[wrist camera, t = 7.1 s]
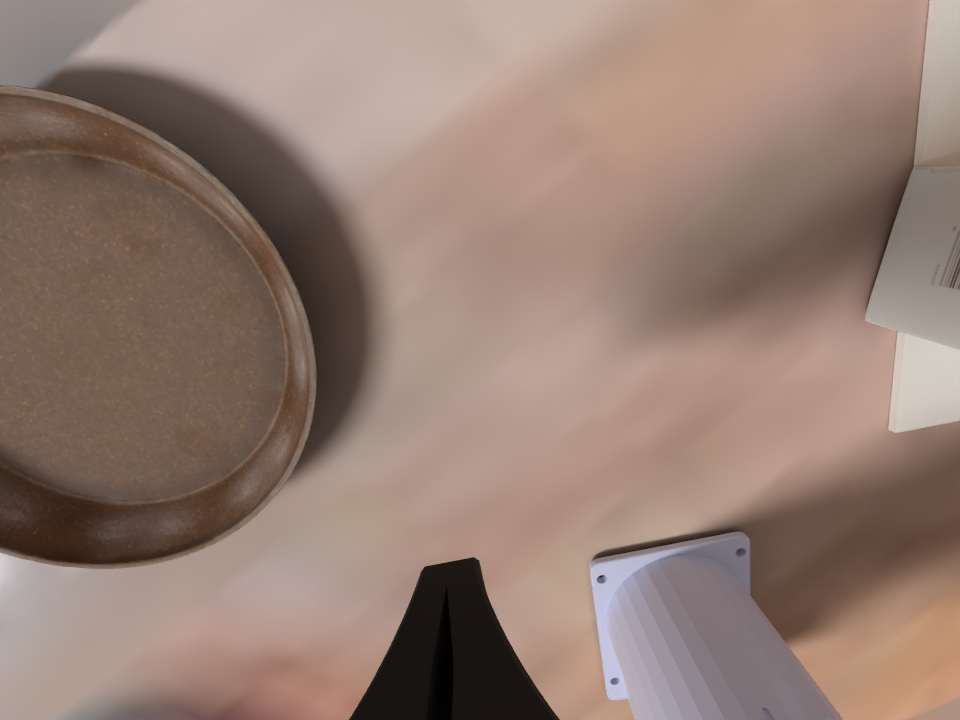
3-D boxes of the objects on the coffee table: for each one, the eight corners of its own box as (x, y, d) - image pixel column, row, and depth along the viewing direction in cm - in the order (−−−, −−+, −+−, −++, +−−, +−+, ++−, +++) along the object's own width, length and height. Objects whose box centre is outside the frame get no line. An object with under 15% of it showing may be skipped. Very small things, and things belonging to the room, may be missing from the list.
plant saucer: (-11, -24, 16) (-109, -70, 13) (417, 311, 21) (412, 330, 18) (-205, 370, 20) (-315, 400, 17) (194, 584, 24) (159, 637, 22)
